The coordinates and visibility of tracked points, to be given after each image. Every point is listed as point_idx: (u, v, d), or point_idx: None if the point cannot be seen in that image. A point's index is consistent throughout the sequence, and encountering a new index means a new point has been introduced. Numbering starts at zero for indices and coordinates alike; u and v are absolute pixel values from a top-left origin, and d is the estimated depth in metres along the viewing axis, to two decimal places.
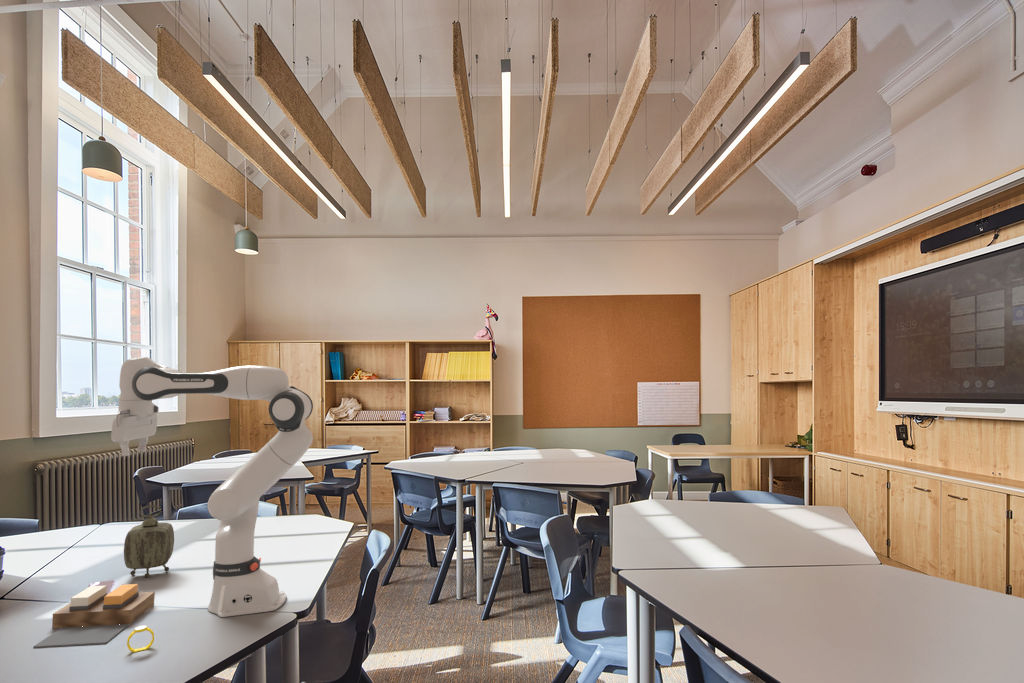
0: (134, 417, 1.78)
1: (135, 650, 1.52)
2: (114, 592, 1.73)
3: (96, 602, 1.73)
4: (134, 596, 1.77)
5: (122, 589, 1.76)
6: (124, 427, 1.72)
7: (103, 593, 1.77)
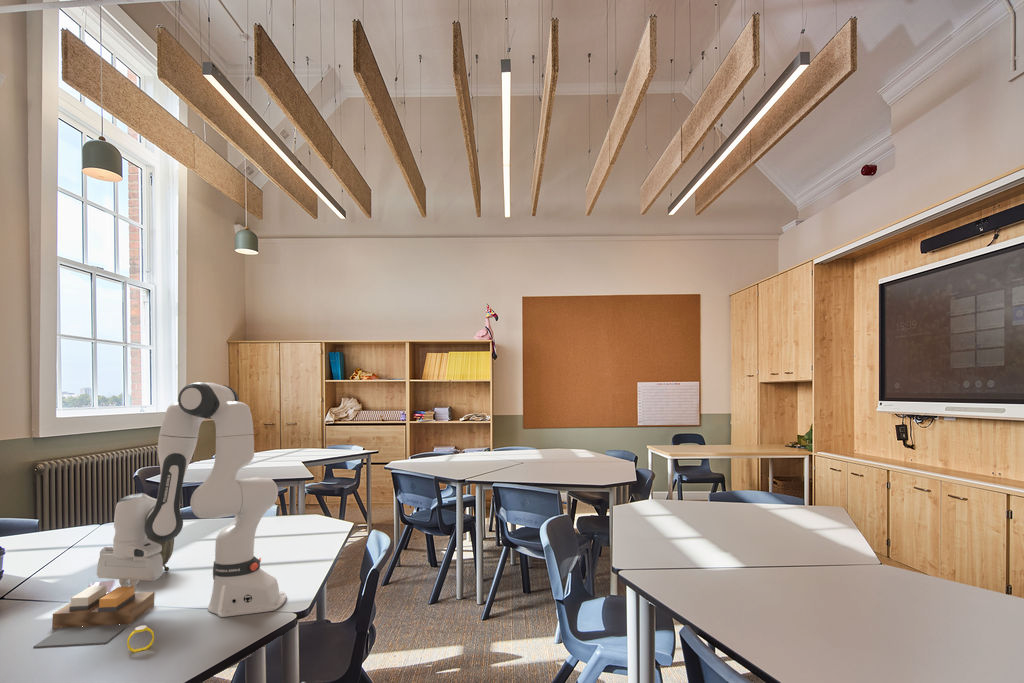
0: (112, 556, 1.78)
1: (135, 650, 1.52)
2: (110, 594, 1.71)
3: (96, 602, 1.73)
4: (130, 599, 1.75)
5: (118, 591, 1.74)
6: None
7: (103, 593, 1.77)
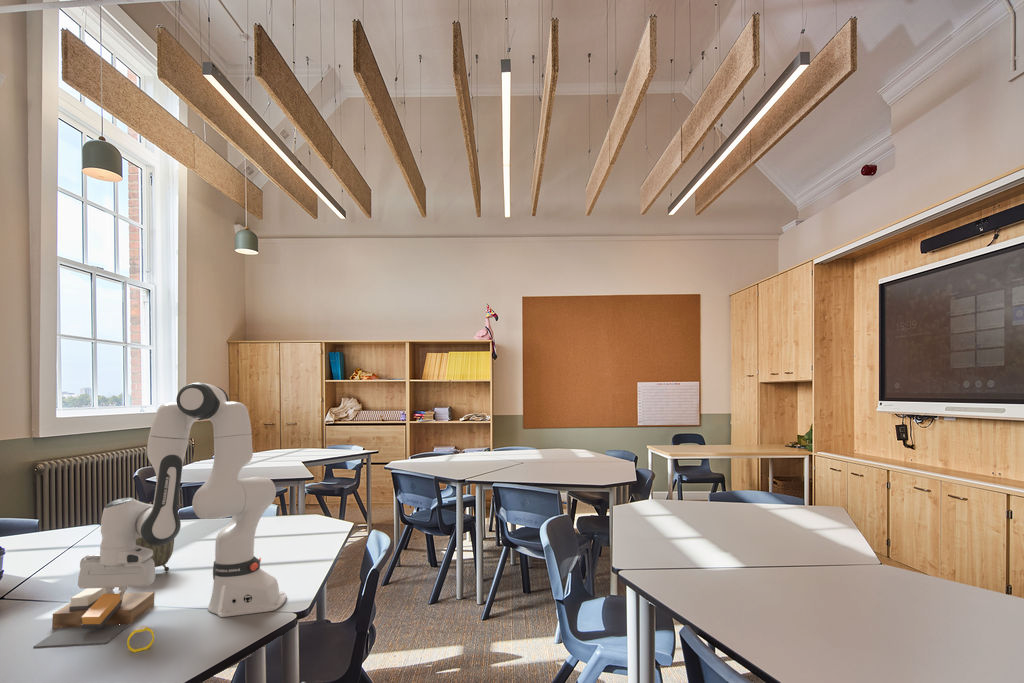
0: (98, 565, 1.70)
1: (135, 650, 1.52)
2: (93, 609, 1.64)
3: None
4: (116, 607, 1.69)
5: (102, 602, 1.66)
6: (79, 574, 1.70)
7: (103, 593, 1.77)
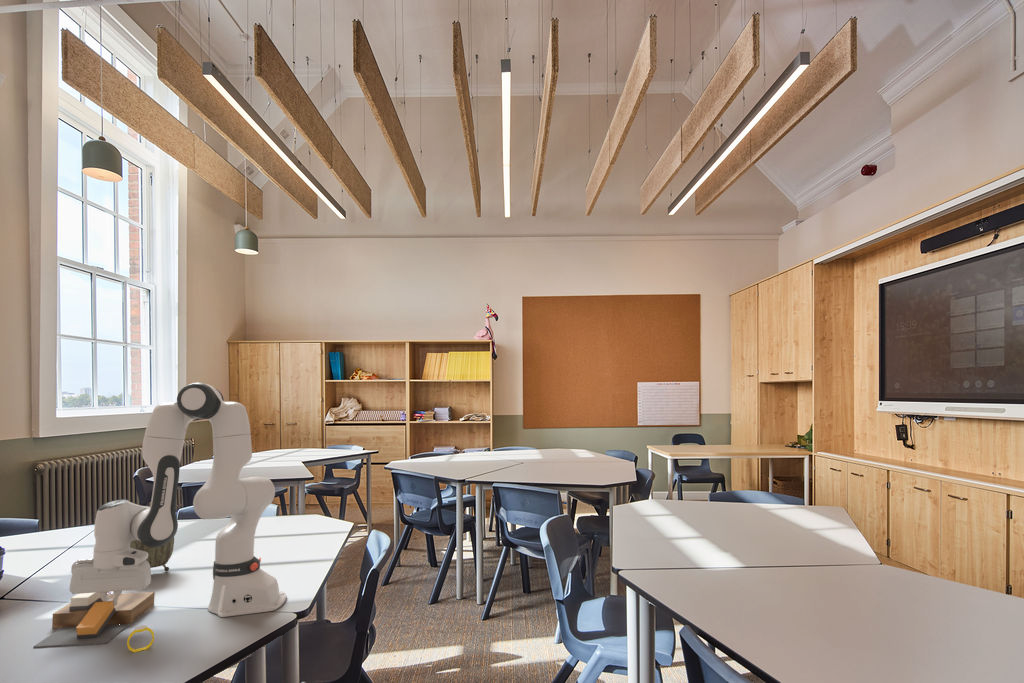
0: (91, 569, 1.67)
1: (135, 650, 1.52)
2: (87, 619, 1.60)
3: None
4: (111, 615, 1.66)
5: (95, 612, 1.63)
6: (71, 579, 1.66)
7: None
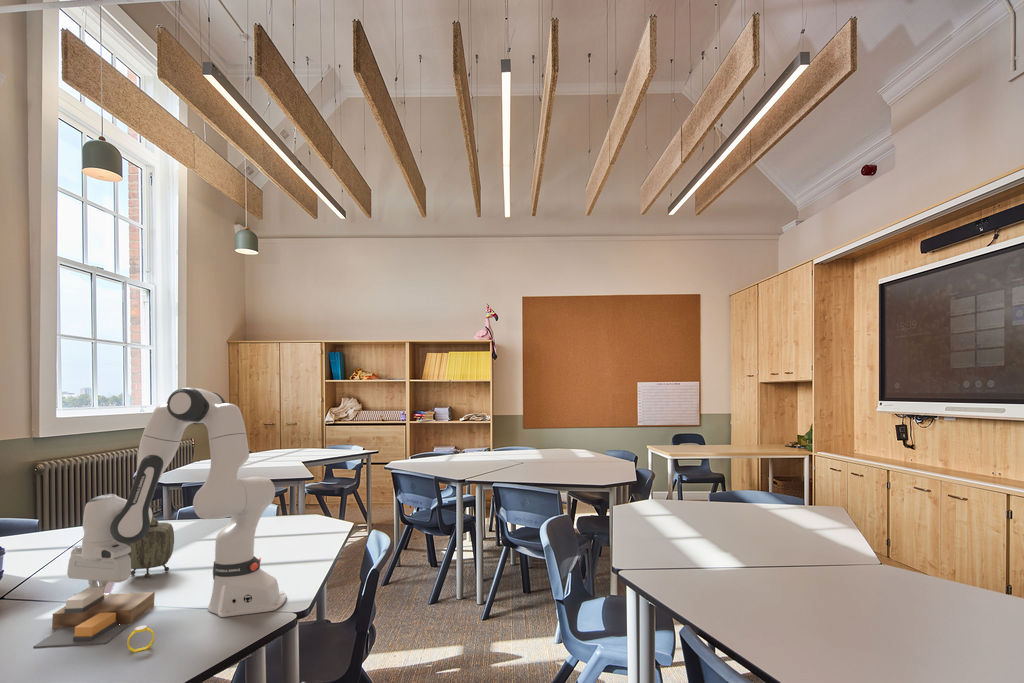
0: (82, 557, 1.78)
1: (135, 650, 1.52)
2: (87, 622, 1.60)
3: (92, 604, 1.71)
4: (110, 626, 1.64)
5: (97, 618, 1.63)
6: (68, 564, 1.79)
7: (100, 595, 1.75)
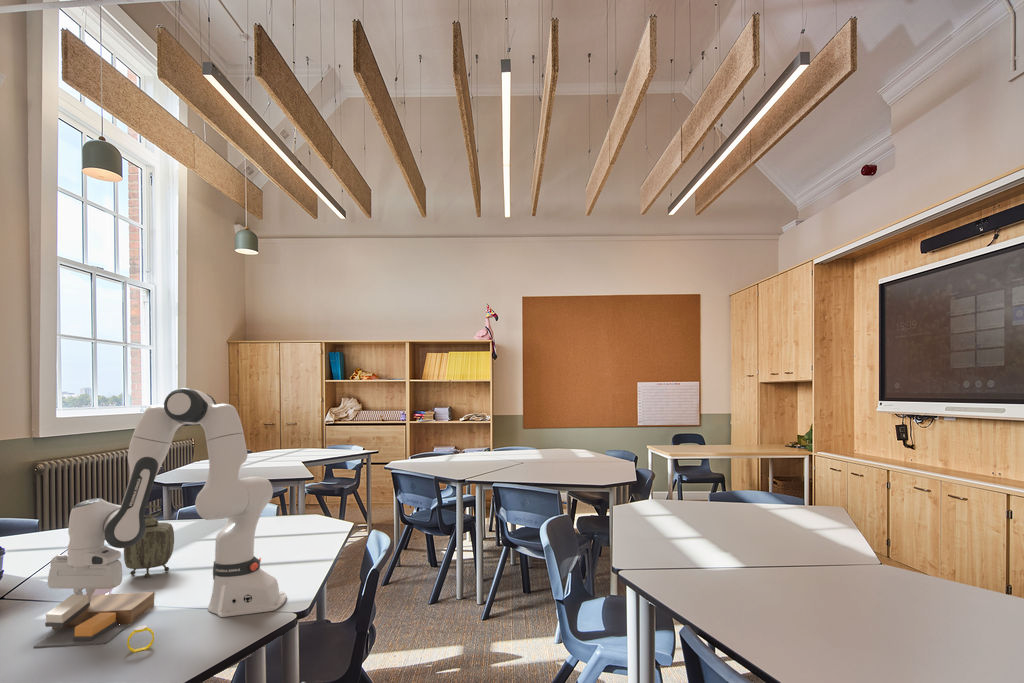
0: (66, 565, 1.70)
1: (135, 650, 1.52)
2: (87, 622, 1.60)
3: (74, 616, 1.65)
4: (110, 626, 1.64)
5: (97, 618, 1.63)
6: (49, 573, 1.70)
7: (84, 604, 1.68)
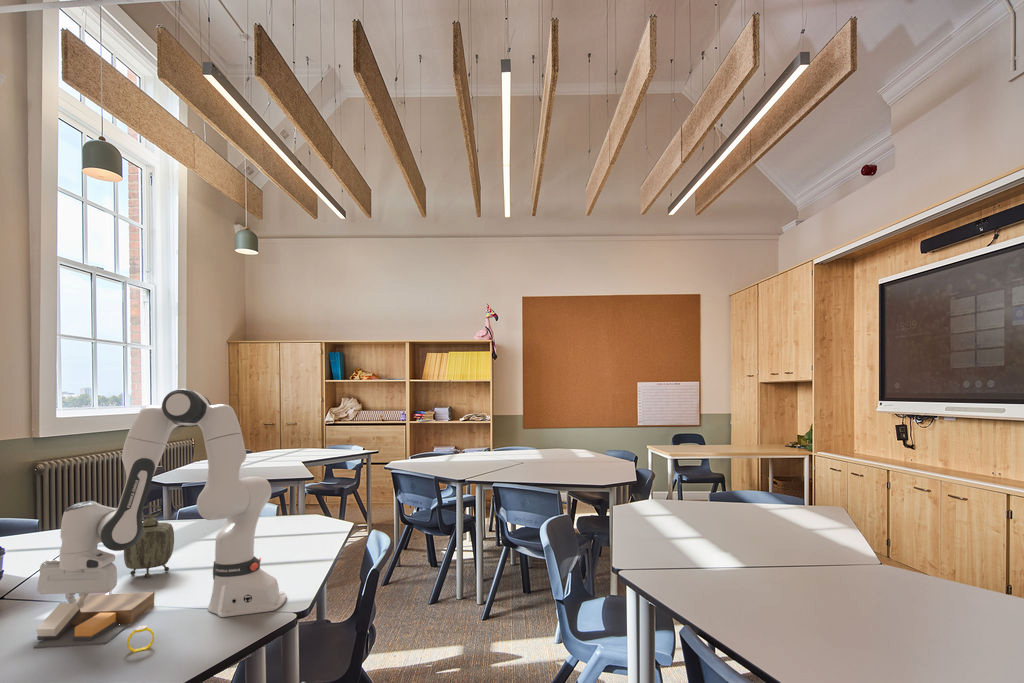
0: (58, 570, 1.66)
1: (135, 650, 1.52)
2: (87, 622, 1.60)
3: (67, 626, 1.62)
4: (110, 626, 1.64)
5: (97, 618, 1.63)
6: None
7: (74, 612, 1.65)
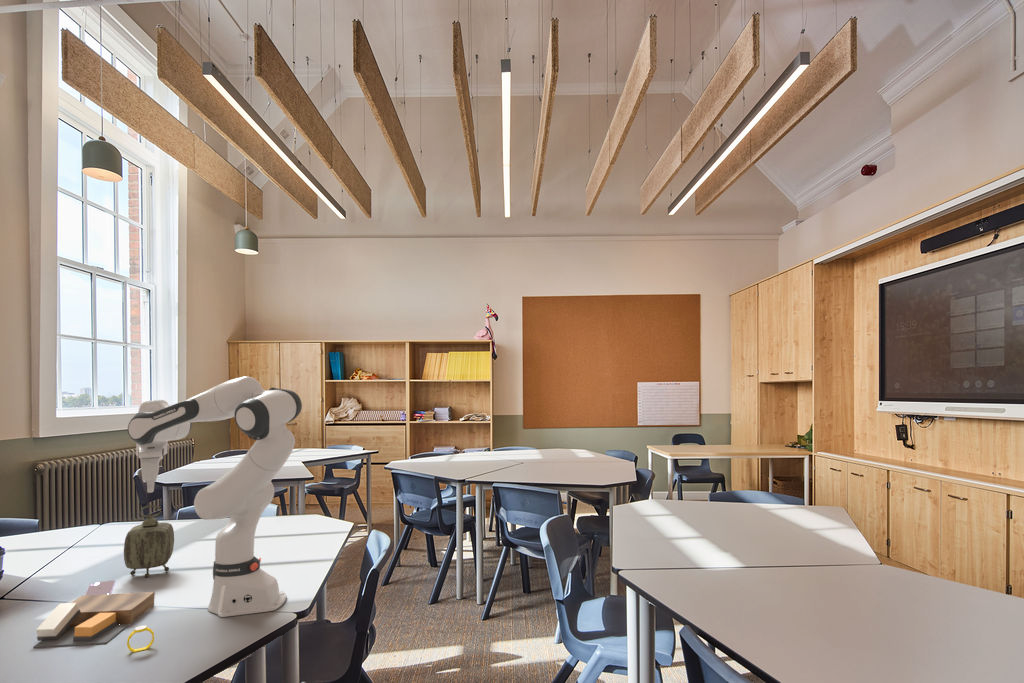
0: None
1: (135, 650, 1.52)
2: (87, 622, 1.60)
3: (67, 626, 1.61)
4: (110, 626, 1.64)
5: (97, 618, 1.63)
6: None
7: (74, 612, 1.65)
